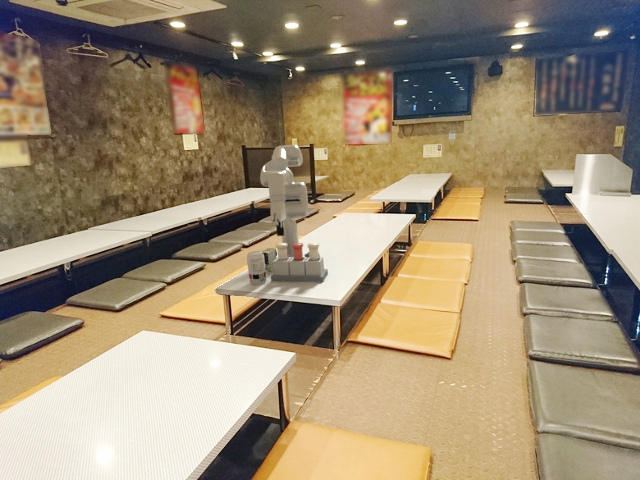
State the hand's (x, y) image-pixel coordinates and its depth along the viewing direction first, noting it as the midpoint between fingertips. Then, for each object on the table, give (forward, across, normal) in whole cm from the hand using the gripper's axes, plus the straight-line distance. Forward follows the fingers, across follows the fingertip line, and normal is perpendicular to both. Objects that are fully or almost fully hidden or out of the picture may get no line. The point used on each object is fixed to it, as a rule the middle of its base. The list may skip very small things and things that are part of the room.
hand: (280, 235), depth 206 cm
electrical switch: (+22, -19, +11) cm, 31 cm away
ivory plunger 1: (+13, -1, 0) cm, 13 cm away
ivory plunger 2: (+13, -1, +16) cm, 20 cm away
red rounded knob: (+13, -1, +8) cm, 15 cm away
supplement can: (+22, +7, -11) cm, 26 cm away
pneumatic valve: (+22, -12, -12) cm, 28 cm away
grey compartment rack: (+22, -1, +8) cm, 23 cm away
